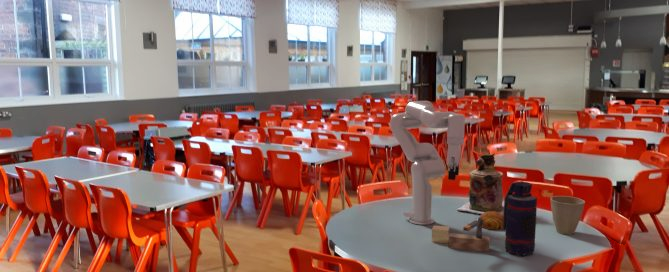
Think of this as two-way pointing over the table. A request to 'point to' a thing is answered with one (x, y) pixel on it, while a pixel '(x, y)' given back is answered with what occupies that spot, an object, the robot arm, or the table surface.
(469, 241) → the plane body
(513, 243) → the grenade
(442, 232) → the brushed brass block
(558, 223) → the plant pot
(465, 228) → the lever
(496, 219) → the croissant
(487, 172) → the cookie jar
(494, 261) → the table surface
